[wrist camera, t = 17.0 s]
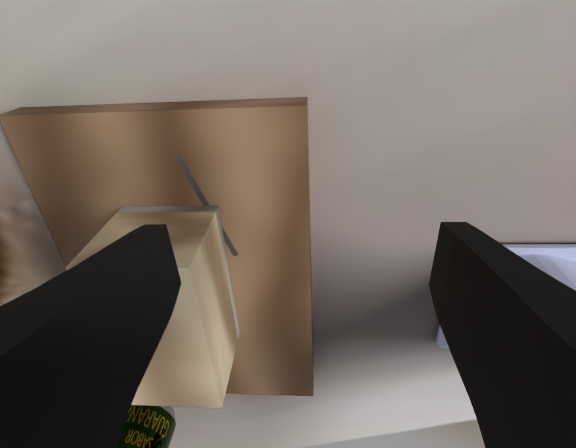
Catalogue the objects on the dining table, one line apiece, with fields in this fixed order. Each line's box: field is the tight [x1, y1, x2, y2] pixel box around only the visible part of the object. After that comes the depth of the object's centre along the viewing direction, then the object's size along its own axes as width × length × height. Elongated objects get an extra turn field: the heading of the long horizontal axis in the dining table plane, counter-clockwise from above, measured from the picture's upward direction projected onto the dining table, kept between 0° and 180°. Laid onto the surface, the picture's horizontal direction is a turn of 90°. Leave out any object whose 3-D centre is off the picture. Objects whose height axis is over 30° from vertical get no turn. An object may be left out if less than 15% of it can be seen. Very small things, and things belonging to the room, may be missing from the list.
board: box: [0, 97, 313, 396], centre depth 22 cm, size 14×20×2 cm
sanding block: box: [66, 206, 240, 408], centre depth 19 cm, size 5×9×5 cm, turn 3°
